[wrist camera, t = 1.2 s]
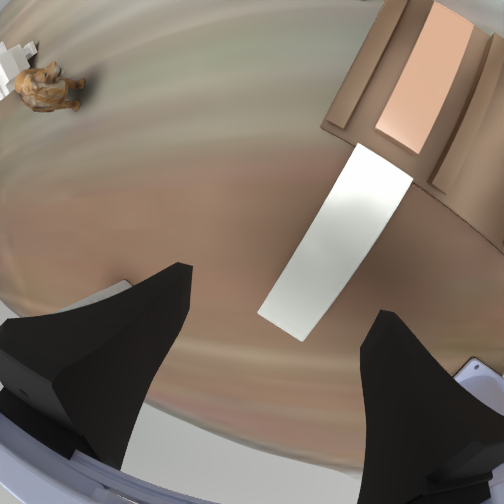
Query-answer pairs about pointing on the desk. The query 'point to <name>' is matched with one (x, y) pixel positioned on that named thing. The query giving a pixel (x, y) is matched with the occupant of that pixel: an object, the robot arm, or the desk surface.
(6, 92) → the voxel character
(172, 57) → the desk surface
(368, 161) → the strip
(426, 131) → the terracotta strip
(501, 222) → the walnut drying rack
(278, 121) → the desk surface
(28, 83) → the lion figurine
